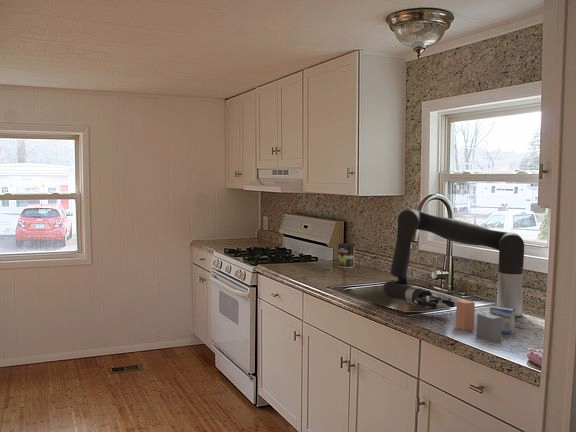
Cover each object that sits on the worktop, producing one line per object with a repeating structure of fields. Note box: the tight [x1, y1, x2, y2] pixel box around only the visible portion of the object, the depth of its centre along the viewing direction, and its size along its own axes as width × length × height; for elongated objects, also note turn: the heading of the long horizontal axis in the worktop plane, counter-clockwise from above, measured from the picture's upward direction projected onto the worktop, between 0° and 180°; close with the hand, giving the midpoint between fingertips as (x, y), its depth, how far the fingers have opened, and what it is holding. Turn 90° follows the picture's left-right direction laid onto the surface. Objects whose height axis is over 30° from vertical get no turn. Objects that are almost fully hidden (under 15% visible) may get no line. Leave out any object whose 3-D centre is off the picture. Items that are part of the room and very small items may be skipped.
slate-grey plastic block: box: [476, 312, 503, 343], centre depth 191 cm, size 4×7×8 cm, turn 24°
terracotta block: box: [455, 299, 476, 331], centre depth 203 cm, size 4×4×10 cm
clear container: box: [337, 242, 356, 269], centre depth 338 cm, size 10×10×14 cm
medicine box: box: [489, 305, 516, 335], centre depth 200 cm, size 8×4×9 cm, turn 56°
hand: (444, 305), depth 213 cm, fingers open, 8 cm apart
